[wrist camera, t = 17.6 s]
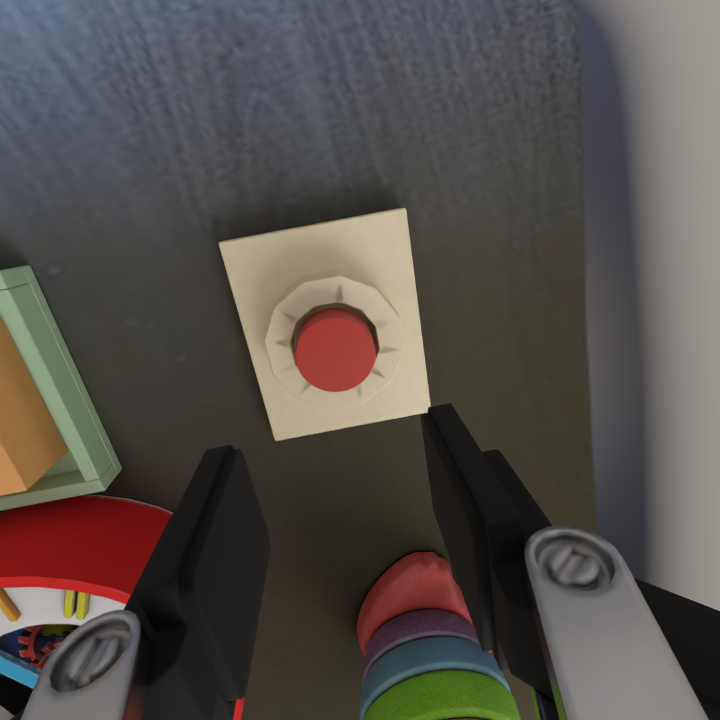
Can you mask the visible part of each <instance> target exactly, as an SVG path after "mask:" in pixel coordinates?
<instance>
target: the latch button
mask: <svg viewBox="0 0 720 720" xmlns="http://www.w3.org/2000/svg"><path fill="white" fill-rule="evenodd" d="M375 358H376V350H375V345H374V341H373V338H372V335H371V332H370V330H369V328H368V326H367V324H366V323H365V322H364V320H363V319H362V318H361V317H359V316H358V315H357V314H355V313H353V312H352V311H349V310H346V309H342V308H328V309H324V310H321V311H318V312H317V313H315V314H313V315H312V316H311V317H309V318H308V319H307V320H306V322H305V323H304V324H303V326H302V328H301V330H300V332H299V336H298V340H297V344H296V350H295V359H296V364H297V367H298V369H299V371H300V373H301V375H302V376H303V377H304V378H305V380H306V381H307V382H309V383H310V384H311V385H313V386H314V387H316V388H318V389H321V390H324V391H328V392H342V391H347V390H350V389H352V388H354V387H356V386H358V385H359V384H361V383H362V382H363V381H364V380H365V379H366V378H367V377H368V376H369V374H370V373H371V371H372V369H373V366H374V363H375Z"/></svg>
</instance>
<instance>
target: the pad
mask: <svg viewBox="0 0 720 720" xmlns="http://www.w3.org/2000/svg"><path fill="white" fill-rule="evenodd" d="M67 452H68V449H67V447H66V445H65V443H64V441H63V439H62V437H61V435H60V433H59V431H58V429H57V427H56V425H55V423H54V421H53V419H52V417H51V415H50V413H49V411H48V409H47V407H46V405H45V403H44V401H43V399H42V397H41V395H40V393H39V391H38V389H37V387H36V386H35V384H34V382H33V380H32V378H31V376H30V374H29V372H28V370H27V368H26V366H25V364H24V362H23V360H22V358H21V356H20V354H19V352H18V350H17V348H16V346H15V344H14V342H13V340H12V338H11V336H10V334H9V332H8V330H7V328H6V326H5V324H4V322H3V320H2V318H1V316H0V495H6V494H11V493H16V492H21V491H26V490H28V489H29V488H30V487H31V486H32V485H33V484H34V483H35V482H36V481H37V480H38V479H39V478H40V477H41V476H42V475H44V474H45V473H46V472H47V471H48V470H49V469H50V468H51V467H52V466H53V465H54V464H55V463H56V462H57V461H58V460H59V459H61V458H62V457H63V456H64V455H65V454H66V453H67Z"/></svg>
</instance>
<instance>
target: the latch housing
mask: <svg viewBox="0 0 720 720" xmlns="http://www.w3.org/2000/svg"><path fill="white" fill-rule="evenodd" d="M219 247H220V251H221V254H222V258H223V261H224V265H225V268H226V272H227V275H228V279H229V282H230V285H231V289H232V292H233V296H234V299H235V303H236V306H237V310H238V313H239V317H240V320H241V324H242V327H243V331H244V334H245V338H246V341H247V345H248V348H249V352H250V355H251V359H252V362H253V366H254V369H255V373H256V376H257V380H258V383H259V387H260V390H261V394H262V397H263V401H264V404H265V407H266V411H267V414H268V418H269V421H270V425H271V428H272V432H273V435H274V439H275V441H279V440H284V439H289V438H295V437H300V436H305V435H311V434H316V433H321V432H326V431H332V430H337V429H342V428H347V427H353V426H358V425H363V424H368V423H374V422H379V421H384V420H390V419H395V418H400V417H405V416H411V415H416V414H421V413H426V412H428V407H431V404H430V396H429V388H428V380H427V372H426V364H425V356H424V348H423V340H422V332H421V324H420V316H419V308H418V300H417V292H416V284H415V276H414V268H413V260H412V252H411V244H410V236H409V228H408V220H407V212H406V208H397V209H392V210H387V211H381V212H376V213H371V214H365V215H360V216H354V217H349V218H344V219H338V220H333V221H328V222H322V223H317V224H311V225H306V226H301V227H295V228H290V229H285V230H279V231H274V232H268V233H263V234H258V235H252V236H247V237H242V238H236V239H231V240H225V241H222V242H220V243H219ZM328 308H342V309H346V310H349V311H352V312H353V313H355V314H357V315H358V316H359V317H361V318H362V319H363V320H364V322H365V323H366V324H367V326H368V328H369V330H370V332H371V335H372V338H373V341H374V345H375V350H376V358H375V363H374V366H373V369H372V371H371V373H370V374H369V376H368V377H367V378H366V379H365V380H364V381H363V382H362V383H361V384H359V385H358V386H356V387H354V388H352V389H350V390H347V391H342V392H328V391H324V390H321V389H318V388H316V387H314V386H313V385H311V384H310V383H309V382H307V381H306V380H305V378H304V377H303V376H302V375H301V373H300V371H299V369H298V367H297V364H296V359H295V350H296V344H297V340H298V336H299V332H300V330H301V328H302V326H303V324H304V323H305V322H306V320H307V319H308V318H309V317H311V316H312V315H313V314H315V313H317V312H318V311H321V310H324V309H328Z"/></svg>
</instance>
